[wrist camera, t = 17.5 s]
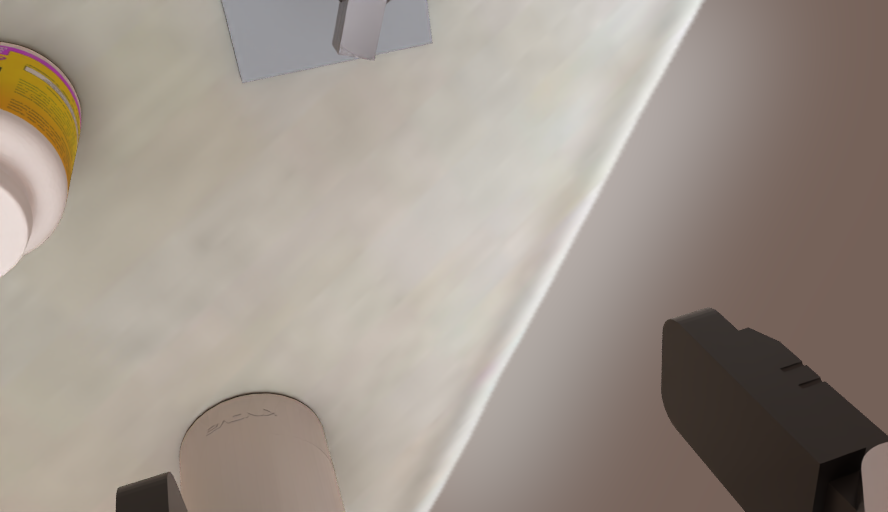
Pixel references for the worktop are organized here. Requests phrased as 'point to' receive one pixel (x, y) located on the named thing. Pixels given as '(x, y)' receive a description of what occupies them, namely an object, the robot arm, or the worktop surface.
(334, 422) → the worktop surface
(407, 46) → the mat
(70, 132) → the supplement bottle
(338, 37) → the chuck key
